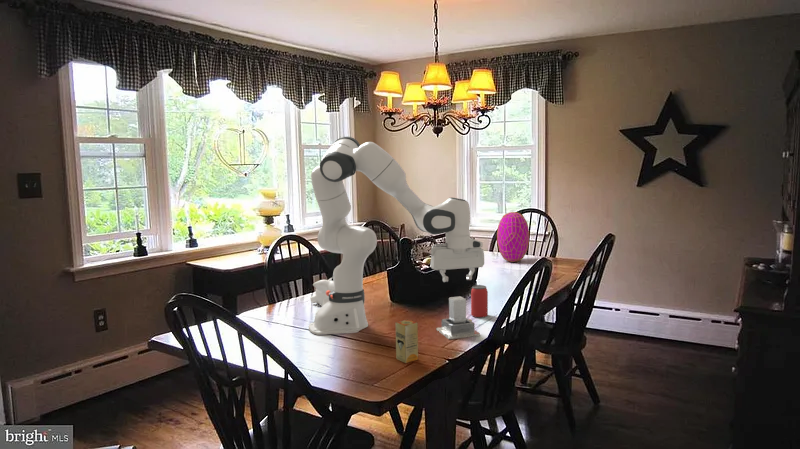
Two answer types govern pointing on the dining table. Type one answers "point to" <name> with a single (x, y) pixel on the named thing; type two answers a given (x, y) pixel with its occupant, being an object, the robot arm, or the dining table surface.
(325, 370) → the dining table surface
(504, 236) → the decorative egg
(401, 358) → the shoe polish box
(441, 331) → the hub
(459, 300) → the white rectangular block
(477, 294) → the beer can
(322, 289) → the fox head
